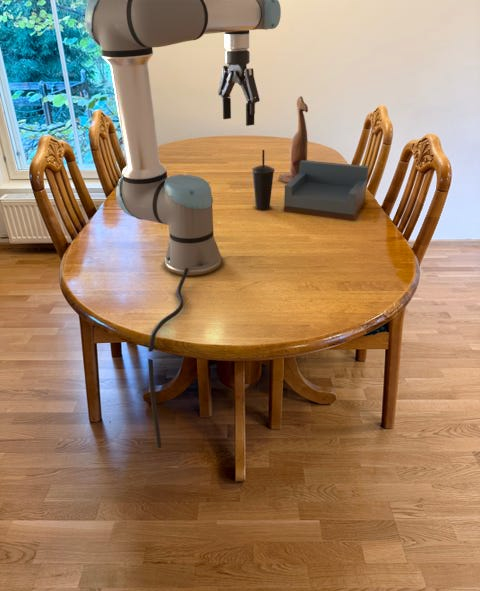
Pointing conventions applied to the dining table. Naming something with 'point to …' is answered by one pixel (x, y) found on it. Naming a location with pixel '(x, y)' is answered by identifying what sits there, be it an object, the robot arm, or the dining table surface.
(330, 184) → the sofa
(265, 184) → the drinking cup
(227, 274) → the dining table surface
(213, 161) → the dining table surface
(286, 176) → the bird sculpture
